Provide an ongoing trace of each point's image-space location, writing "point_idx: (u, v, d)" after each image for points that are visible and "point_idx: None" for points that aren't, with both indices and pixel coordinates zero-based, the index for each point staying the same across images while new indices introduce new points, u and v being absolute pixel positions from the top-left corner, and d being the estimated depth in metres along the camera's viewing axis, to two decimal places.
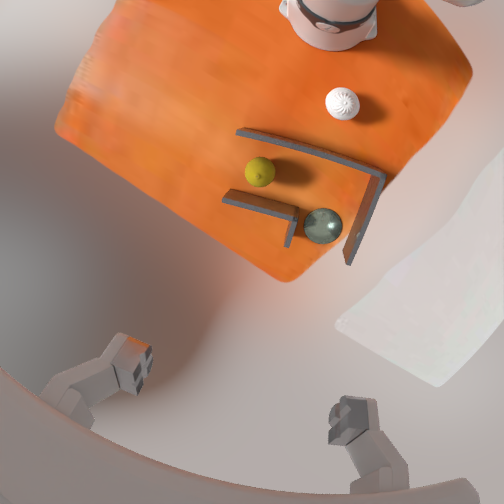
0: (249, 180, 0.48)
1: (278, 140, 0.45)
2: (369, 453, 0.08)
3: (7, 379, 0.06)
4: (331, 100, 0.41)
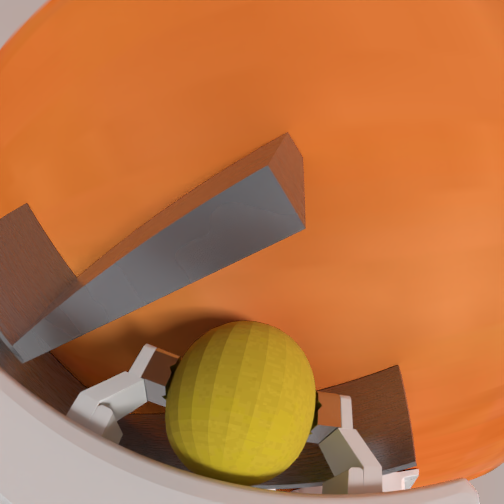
0: (234, 450, 0.06)
1: (276, 488, 0.11)
2: (341, 452, 0.08)
3: (7, 379, 0.06)
4: None
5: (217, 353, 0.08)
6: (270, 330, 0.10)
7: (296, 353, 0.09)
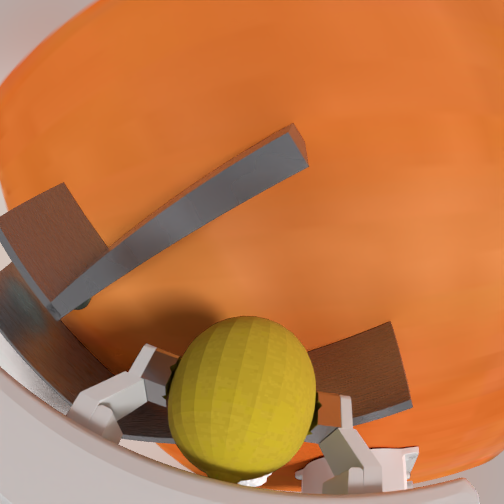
0: (236, 441, 0.06)
1: None
2: (341, 452, 0.08)
3: (7, 379, 0.06)
4: None
5: (219, 346, 0.09)
6: (271, 324, 0.10)
7: (296, 347, 0.10)
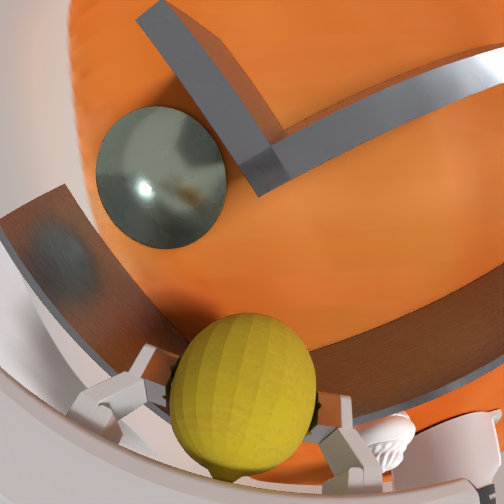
0: (237, 435, 0.07)
1: (502, 362, 0.09)
2: (341, 452, 0.08)
3: (7, 379, 0.06)
4: (406, 442, 0.16)
5: (221, 342, 0.09)
6: (271, 321, 0.10)
7: (296, 343, 0.10)
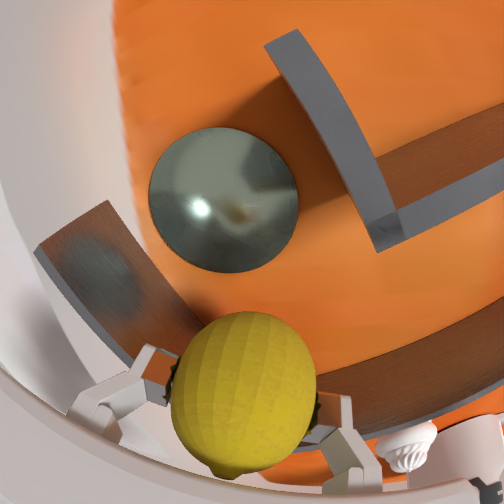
0: (238, 432, 0.07)
1: None
2: (341, 452, 0.08)
3: (7, 379, 0.06)
4: (430, 444, 0.16)
5: (221, 340, 0.09)
6: (271, 319, 0.10)
7: (296, 341, 0.10)
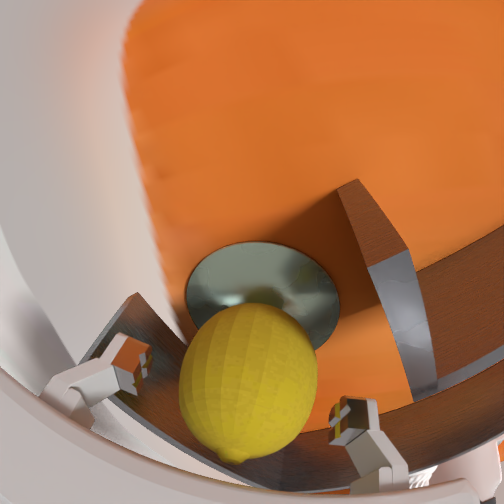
0: (244, 415, 0.07)
1: None
2: (369, 453, 0.08)
3: (7, 379, 0.06)
4: (431, 473, 0.16)
5: (227, 328, 0.10)
6: (274, 309, 0.11)
7: (298, 330, 0.10)
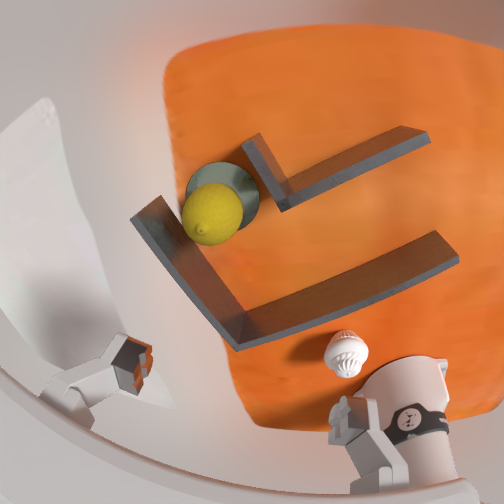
0: (207, 205, 0.23)
1: (400, 290, 0.25)
2: (369, 453, 0.08)
3: (7, 379, 0.06)
4: (362, 356, 0.32)
5: (204, 185, 0.25)
6: (224, 184, 0.26)
7: (233, 190, 0.26)
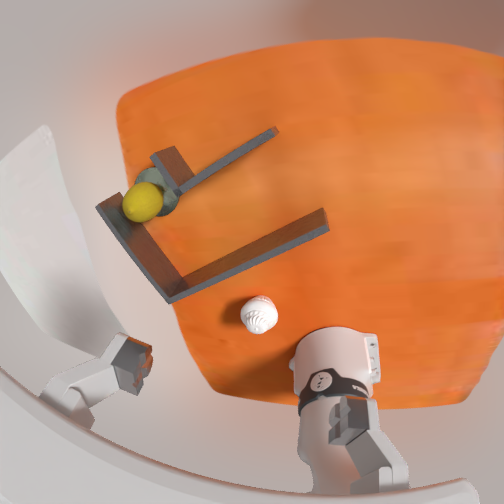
0: (133, 196, 0.34)
1: (276, 253, 0.36)
2: (369, 453, 0.08)
3: (7, 379, 0.06)
4: (269, 316, 0.43)
5: (136, 184, 0.36)
6: (151, 182, 0.38)
7: (155, 185, 0.37)
